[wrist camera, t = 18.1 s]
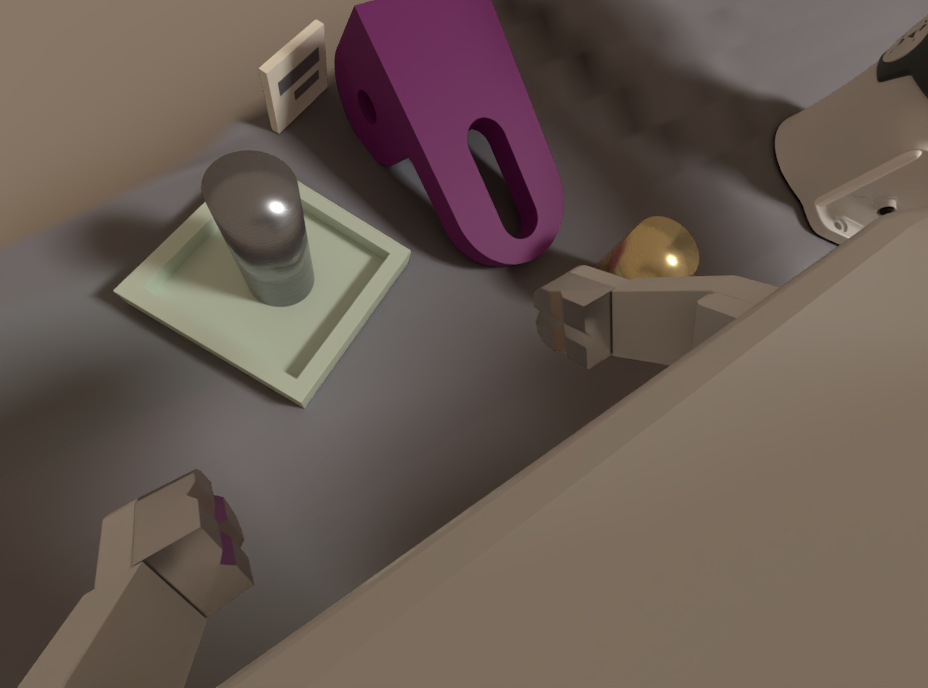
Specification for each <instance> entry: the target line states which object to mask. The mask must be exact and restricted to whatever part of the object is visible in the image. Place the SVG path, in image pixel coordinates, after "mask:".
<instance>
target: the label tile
mask: <svg viewBox="0 0 928 688" xmlns="http://www.w3.org/2000/svg"><path fill="white" fill-rule="evenodd" d="M258 70H259V74H260V79H261V83H262V88H263V92H264V97H265V101H266V106H267V110H268V115H269V119H270V124H271V128H272V130H273V131H275V132H276V133H278V134H280V133H281V132H282V131H283V130H284V129H285V128H286V127H287V126H288V125H289V124H290V123H291V122H292V121H293V120H294V119H295V118H296V117H297V116H298V115H299V114H300V113H301V112H302V111H303V110H304V109H306V108H307V107H308V106H309V105H310V104H311V103H312V102H313V101H314V100H315V99H316V98H317V97H318V96H319V95H320V94H321V93H322V92H323V91H324V90H325V89H326V88H327V87H328V84H327V69H326V52H325V36H324V24H323V23H321V22H320V21H318V20H315V21H313V22H312V23H311V24H310V25H309V26H307V27H306V28H305V29H304V30H303V31H302V32H300V33H299V34H298V35H297V36H296V37H295V38H293V39H292V40H291V41H290V42H289V43H288V44H286V45H285V46H284V47H283V48H282V49H281V50H279V51H278V52H277V53H276V54H275V55H273V56H272V57H271V58H270V59H269V60H267V62H265V63H264V64H263V65H262V66H261V67H259V68H258Z"/></svg>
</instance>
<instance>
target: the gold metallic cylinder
mask: <svg viewBox="0 0 928 688" xmlns="http://www.w3.org/2000/svg"><path fill="white" fill-rule="evenodd" d="M698 264H699V251H698V247H697V245H696V242H695V240H694V239H693V237H692V236H691V234H690V233H689V232H688V231H687V230H686V229H685V228H684V227H683V226H682V225H681V224H679V223H678V222H676V221H674V220H672V219H670V218H667V217H663V216H653V217H649V218H646V219H645V220H643V221H642V222H641V223H640V224H639V225H638V226H637V227H636V228H635V229H633V230H632V231H631V232H630V233H629V234H628V235H627V236H626V237H625V238H624V239H623V240H622V241H621V242H620V243H619V244H618V245H617V246H616V247H614V248H613V249H612V250H611V251H610V252H609V253H608V254H607V255H606V256H605V257H604V258H603V259H602V260H601V261H600V262H599V263H598V264H596V265H595V266H594V267H593V268H595V269H599V270H602V271H605V272H608V273H611V274H614V275H617V276H620V277H623V278H626V279H629V280H632V279H634V278H646V277H685V276H692V275H693V274H694V273H695V271H696V270H697V267H698Z"/></svg>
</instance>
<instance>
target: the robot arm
mask: <svg viewBox="0 0 928 688" xmlns="http://www.w3.org/2000/svg"><path fill="white" fill-rule="evenodd" d="M775 151H776V156H777V160H778V163H779V166H780V169H781V171H782V173H783V175H784V177H785V179H786V180H787V182H788V184H789V185H790V187H791V188H792V190H793V191H794V192H795V194H796V195H797V197H798V198H799V200H800V201H801V203H802V205H803V208H804V211H805V213H806V216H807V219H808V221H809V223H810V226H811V227H812V229H813V230H814V231H815V232H816V233H817V234H818V235H820V236H822V237H824V238H826V239H828V240H831V241H833V242H835V243H837V244H839V246H838V247H836V248H835V249H833V250H832V251H830V252H829V253H828V254H826V255H825V256H823V257H822V258H821V259H819V260H818V261H816V262H815V263H814V264H812V265H811V266H809V267H808V268H807V269H805V270H804V271H802V272H801V273H800V274H798V275H797V276H795V277H794V278H792V279H791V280H790V281H788V282H787V283H785V284H784V285H783V286H781V287H777V286H773V285H770V284H766V283H762V282H758V281H755V280H751V279H747V278H743V277H740V276H736V275H724V276H685V277H646V278H634V279H632V280H629V279H626V278H623V277H620V276H617V275H614V274H611V273H608V272H605V271H602V270H599V269H595V268H592V267H589V266H586V265H581V266H577V267H576V268H574V269H572V270H570V271H569V272H567V273H565V274H564V275H562V276H561V277H559V278H557V279H555V280H553V281H552V282H550V283H548V284H546V285H544V286H542V287H541V288H539V289H537V290H535V291H534V295H533V302H534V307H535V308H536V309H538V310H539V314H538V317H537V320H536V325H537V330H538V334H539V335H540V337H541V339H542V341H543V342H544V343H545V344H546V345H547V346H548V347H549V348H551V349H552V350H554V351H559V352H566V353H567V357H568V359H570V360H572V361H573V362H575V363H577V364H579V365H580V366H582V367H584V368H586V369H589V368H591V367H593V366H594V365H596V364H597V363H599V362H601V361H602V360H604V359H606V358H607V357H609V356H611V355H612V354H613V356H617V357H623V358H628V359H634V360H640V361H646V362H652V363H657V364H663V365H669V366H668V367H667V368H666V369H664V370H663V371H661V372H660V373H659V374H657V375H656V376H654V377H653V378H651V379H650V380H649V381H647V382H646V383H644V384H643V385H642V386H640V387H639V388H637V389H636V390H635V391H633V392H632V393H630V394H629V395H628V396H626V397H625V398H623V399H622V400H620V401H619V402H618V403H616V404H615V405H613V406H612V407H611V408H609V409H608V410H606V411H605V412H604V413H602V414H601V415H599V416H598V417H596V418H595V419H594V420H592V421H591V422H589V423H588V424H587V425H585V426H584V427H582V428H581V429H580V430H578V431H577V432H575V433H574V434H572V435H571V436H570V437H568V438H567V439H565V440H564V441H563V442H561V443H560V444H558V445H557V446H556V447H554V448H553V449H551V450H550V451H548V452H547V453H546V454H544V455H543V456H541V457H540V458H539V459H537V460H536V461H534V462H533V463H531V464H530V465H529V466H527V467H526V468H524V469H523V470H522V471H520V472H519V473H517V474H516V475H515V476H513V477H512V478H510V479H509V480H507V481H506V482H505V483H503V484H502V485H500V486H499V487H498V488H496V489H495V490H493V491H492V492H491V493H489V494H488V495H486V496H485V497H483V498H482V499H481V500H479V501H478V502H476V503H475V504H474V505H472V506H471V507H469V508H468V509H467V510H465V511H464V512H462V513H461V514H460V515H458V516H457V517H455V518H454V519H453V520H451V521H450V522H448V523H447V524H445V525H444V526H443V527H441V528H440V529H438V530H437V531H436V532H434V533H433V534H431V535H430V536H429V537H427V538H426V539H424V540H423V541H422V542H420V543H419V544H417V545H416V546H415V547H413V548H412V549H410V550H409V551H408V552H406V553H405V554H403V555H402V556H401V557H399V558H398V559H396V560H395V561H393V562H392V563H391V564H389V565H388V566H386V567H385V568H384V569H382V570H381V571H379V572H378V573H377V574H375V575H374V576H372V577H371V578H370V579H368V580H367V581H365V582H364V583H363V584H361V585H360V586H358V587H357V588H356V589H354V590H353V591H351V592H350V593H349V594H347V595H346V596H344V597H343V598H342V599H340V600H339V601H337V602H336V603H334V604H333V605H332V606H330V607H329V608H327V609H326V610H325V611H323V612H322V613H320V614H319V615H317V616H316V617H315V618H313V619H312V620H310V621H309V622H307V623H306V624H305V625H303V626H302V627H300V628H299V629H298V630H296V631H295V632H293V633H292V634H290V635H289V636H288V637H286V638H285V639H283V640H282V641H281V642H279V643H278V644H276V645H275V646H273V647H272V648H271V649H269V650H268V651H266V652H265V653H264V654H262V655H261V656H259V657H258V658H256V659H255V660H254V661H252V662H251V663H249V664H248V665H247V666H245V667H244V668H242V669H241V670H239V671H238V672H237V673H235V674H234V675H232V676H231V677H230V678H228V679H227V680H225V681H224V682H223V683H221V684H220V685H218V686H217V687H216V688H928V15H927V16H926V17H924V18H923V19H922V20H920V21H919V22H918V23H917V24H916V25H914V26H913V27H912V28H911V29H910V30H908V31H907V32H906V33H905V34H904V35H903V36H902V37H900V38H899V39H898V40H897V41H896V42H895V43H894V44H893V45H892V46H891V47H890V48H889V49H888V50H887V51H886V52H885V53H884V54H883V55H882V56H881V57H880V59H879V61H878V62H876V63H875V64H873V65H872V66H871V67H869V68H868V69H867V70H865V71H864V72H862V73H861V74H860V75H858V76H857V77H855V78H854V79H852V80H851V81H849V82H848V83H847V84H845V85H844V86H842V87H841V88H839V89H838V90H836V91H834V92H833V93H831V94H830V95H828V96H827V97H825V98H824V99H822V100H820V101H819V102H817V103H815V104H813V105H812V106H810V107H808V108H806V109H805V110H803V111H801V112H799V113H797V114H795V115H793V116H791V117H789V118H787V119H786V120H784V121H783V122H782V123H781V125H780V126H779V128H778V130H777V133H776V137H775ZM243 541H244V537H243V533H242V529H241V527H240V524H239V522H238V520H237V517H236V515H235V514H234V512H233V510H232V509H231V507H230V506H229V504H228V503H227V502H226V500H225V499H224V498H223V497H220V496H215V495H213V491H212V485H211V482H210V481H209V480H208V478H207V477H206V476H205V475H204V474H203V473H202V471H200V470H197V469H195V470H193V471H191V472H189V473H187V474H185V475H183V476H181V477H179V478H177V479H175V480H173V481H171V482H169V483H167V484H165V485H163V486H161V487H159V488H157V489H155V490H153V491H151V492H149V493H147V494H145V495H143V496H141V497H139V498H138V499H136V500H133V501H132V502H130V503H128V504H126V505H124V506H122V507H120V508H118V509H116V510H115V511H113V512H111V513H109V514H107V515H106V517H105V518H104V519H103V521H102V527H101V535H100V543H99V552H98V560H97V568H96V576H95V585H94V589H93V590H92V591H90V592H88V593H87V594H85V595H83V597H82V598H81V600H80V601H79V602H78V604H77V605H76V606H75V608H74V609H73V611H72V612H71V613H70V615H69V616H68V618H67V619H66V620H65V622H64V623H63V625H62V626H61V627H60V629H59V630H58V632H57V633H56V634H55V636H54V637H53V638H52V640H51V641H50V643H49V644H48V645H47V647H46V648H45V650H44V651H43V652H42V654H41V655H40V657H39V658H38V659H37V661H36V662H35V663H34V665H33V666H32V668H31V669H30V670H29V672H28V673H27V675H26V676H25V677H24V679H23V680H22V682H21V683H20V684H19V686H18V687H17V688H184V686H185V683H186V680H187V677H188V675H189V672H190V669H191V666H192V663H193V660H194V658H195V655H196V652H197V649H198V646H199V643H200V641H201V638H202V635H203V632H204V629H205V627H206V624H207V621H208V620H207V619H206V618H207V617H209V616H210V615H212V614H213V613H215V612H216V611H217V610H219V609H220V608H222V607H223V606H225V605H226V604H228V603H229V602H231V601H232V600H234V599H235V598H237V597H238V596H240V595H241V594H242V593H244V592H245V591H247V590H248V589H250V588H251V587H253V586H254V582H253V577H252V573H251V568H250V564H249V559H248V557H247V556H246V554H245V553H244V552H243V551H242V550H241V545H242V543H243Z"/></svg>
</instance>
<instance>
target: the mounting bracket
mask: <svg viewBox="0 0 928 688" xmlns="http://www.w3.org/2000/svg"><path fill="white" fill-rule="evenodd" d="M335 76H336V82H337V87H338V91H339V95H340V99H341V102H342V105H343V108H344V110H345V113H346V115H347V118H348V120H349V122H350V124H351V126H352V128H353V130H354V132H355V134H356V135H357V137H358V138H359V139H360V140H361V142H362V143H363V144H364V146H365V147H366V148H367V149H368V151H369V152H370V153H371V155H372V156H373V157H374V158H375V160H376V161H378V162H379V163H381V164H383V165H386V166H391V165H394V164H396V163H398V162H400V161H402V160H405V159H407V158H409V159H410V160H411V162H412V163H413V165H414V167H415V169H416V171H417V174H418V176H419V178H420V180H421V182H422V184H423V186H424V188H425V190H426V192H427V194H428V196H429V198H430V200H431V202H432V204H433V206H434V208H435V210H436V212H437V215H438V217H439V219H440V221H441V223H442V225H443V227H444V229H445V231H446V233H447V234H448V236H449V238H450V239H451V241H452V242H453V243H454V245H455V246H456V247H457V248H458V249H459V250H460V251H461V252H462V253H463V254H464V255H466V256H467V257H468V258H470V259H472V260H473V261H475V262H477V263H480V264H483V265H486V266H491V267H503V266H509V265H515V264H521V263H525V262H529V261H531V260H533V259H535V258H537V257H538V256H540V255H541V254H542V253H543V252H545V250H546V249H547V248H548V247H549V246H550V245H551V243H552V242H553V240H554V239H555V237H556V235H557V233H558V230H559V227H560V224H561V220H562V215H563V206H564V198H563V189H562V183H561V179H560V176H559V173H558V170H557V167H556V165H555V162H554V160H553V157H552V155H551V152H550V149H549V147H548V144H547V142H546V139H545V137H544V134H543V131H542V129H541V126H540V124H539V121H538V119H537V116H536V113H535V111H534V108H533V106H532V103H531V101H530V98H529V96H528V93H527V90H526V88H525V85H524V83H523V80H522V78H521V75H520V72H519V70H518V67H517V65H516V62H515V60H514V57H513V55H512V52H511V49H510V47H509V44H508V42H507V39H506V37H505V34H504V31H503V29H502V26H501V24H500V21H499V19H498V16H497V14H496V11H495V8H494V6H493V3H492V1H491V0H374V1H369V2H366V3H363V4H359V5H355V6H354V8H353V10H352V13H351V15H350V18H349V20H348V22H347V25H346V27H345V30H344V32H343V35H342V37H341V39H340V43H339V44H338V47H337V50H336V53H335ZM471 129H474V130H477V131H479V132H480V133H482V134H483V135H484V136H485V137H486V139H487V140H488V142H489V144H490V146H491V149H492V151H493V153H494V156H495V158H496V160H497V163H498V165H499V167H500V170H501V172H502V174H503V177H504V179H505V181H506V184H507V186H508V188H509V191H510V193H511V195H512V198H513V200H514V202H515V205H516V207H517V209H518V212H519V214H520V218H521V229H520V232H519V234H518V236H517V237H516V238H514V237H512V236H511V235H509V234H508V233H507V231H506V230H505V229H504V227H503V225H502V222H501V220H500V218H499V216H498V213H497V211H496V209H495V207H494V204H493V202H492V200H491V198H490V195H489V193H488V191H487V189H486V186H485V184H484V182H483V180H482V177H481V175H480V173H479V171H478V168H477V166H476V164H475V162H474V159H473V157H472V155H471V153H470V150H469V148H468V143H467V133H468V131H469V130H471Z"/></svg>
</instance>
